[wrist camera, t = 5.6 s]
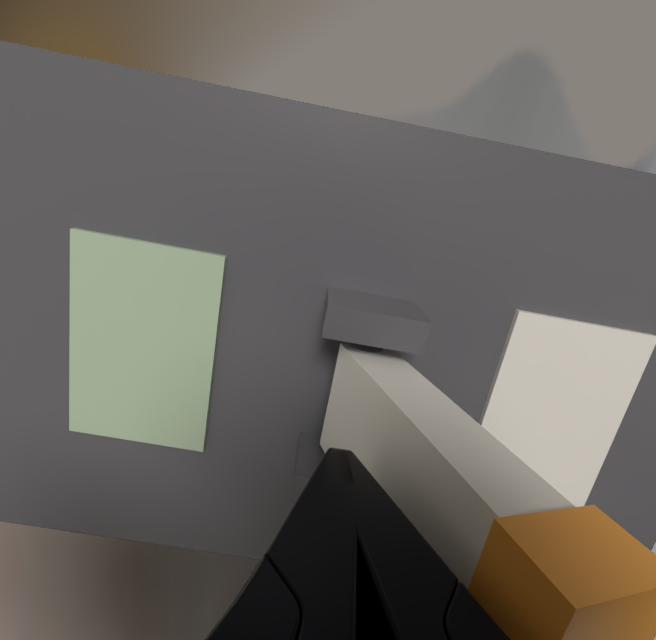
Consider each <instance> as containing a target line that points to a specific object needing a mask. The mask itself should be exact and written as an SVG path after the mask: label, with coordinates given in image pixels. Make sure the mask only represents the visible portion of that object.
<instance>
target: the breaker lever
mask: <svg viewBox="0 0 656 640" xmlns="http://www.w3.org/2000/svg"><path fill="white" fill-rule="evenodd" d="M320 445H321V447H322V449H323V451H324V453H326V451H327V450H328V449H329V448H339V449H346V450H351V451H352V452H353V453H354V454H355V455H356V456H357V458H358V459H359V460H360V461H361V462H362V464H363V465H364V466H365V467H366V468H367V470H368V471H369V472H370V473H371V474H372V476H373V477H374V478H375V479H376V480H377V482H378V483H379V484H380V485H381V486H382V488H383V489H384V490H385V491H386V492H387V494H388V495H389V496H390V497H391V498H392V500H393V501H394V502H395V503H396V504H397V506H398V507H399V508H400V509H401V510H402V512H403V513H404V514H405V515H406V517H407V518H408V519H409V520H410V521H411V523H412V524H413V525H414V526H415V527H416V529H417V530H418V531H419V532H420V533H421V535H422V536H423V537H424V538H425V539H426V541H427V542H428V543H429V544H430V545H431V547H432V548H433V549H434V550H435V551H436V553H437V554H438V555H439V556H440V557H441V559H442V560H443V561H444V562H445V563H446V565H447V566H448V567H449V568H450V569H451V571H452V572H453V573H454V574H455V575H456V577H457V578H458V583H459V582H461V583H462V584H463V585H464V586H465V587H466V588H467V590H468V591H469V592H470V593H471V594H472V596H473V597H474V598H475V599H476V600H477V602H478V603H479V604H480V605H481V606H482V607H483V608H484V610H485V611H486V612H487V613H488V614H489V615H490V616H491V618H492V619H493V620H494V621H495V622H496V623H497V625H498V626H499V627H500V628H501V629H502V630H503V631H504V633H505V634H506V635H507V636H508V637H509V638H510V639H511V640H654V638H655V636H656V555H655V554H654V553H653V552H651V551H650V550H649V549H648V548H647V547H645V546H644V545H643V544H642V543H640V542H639V541H638V540H637V539H636V538H634V537H633V536H632V535H631V534H629V533H628V532H627V531H626V530H625V529H623V528H622V527H621V526H620V525H618V524H617V523H616V522H615V521H613V520H612V519H611V518H610V517H609V516H607V515H606V514H605V513H604V512H602V511H601V510H600V509H599V508H598V507H596V506H595V505H588V506H581V507H575V506H574V505H573V504H572V503H571V502H570V501H568V500H567V499H566V498H565V497H564V496H563V495H561V494H560V493H559V492H558V491H557V490H556V489H554V488H553V487H552V486H551V485H550V484H549V483H547V482H546V481H545V480H544V479H543V478H542V477H540V476H539V475H538V474H537V473H536V472H535V471H533V470H532V469H531V468H530V467H529V466H528V465H526V464H525V463H524V462H523V461H522V460H521V459H519V458H518V457H517V456H516V455H515V454H514V453H512V452H511V451H510V450H509V449H508V448H507V447H505V446H504V445H503V444H502V443H501V442H500V441H498V440H497V439H496V438H495V437H494V436H493V435H492V434H490V433H489V432H488V431H487V430H486V429H485V428H483V427H482V426H481V425H480V424H479V423H478V422H476V421H475V420H474V419H473V418H472V417H471V416H469V415H468V414H467V413H466V412H465V411H464V410H462V409H461V408H460V407H459V406H458V405H457V404H455V403H454V402H453V401H452V400H451V399H450V398H448V397H447V396H446V395H445V394H444V393H443V392H441V391H440V390H439V389H438V388H437V387H436V386H434V385H433V384H432V383H431V382H430V381H429V380H427V379H426V378H425V377H424V376H423V375H422V374H420V373H419V372H418V371H417V370H416V369H415V368H413V367H412V366H411V365H410V364H409V363H408V362H406V361H405V360H404V359H403V358H402V357H401V356H399V355H398V354H397V353H396V352H395V351H394V350H389V349H383V348H378V347H372V346H366V345H361V344H355V343H350V342H346V344H345V343H340V347H339V352H338V357H337V362H336V367H335V372H334V376H333V381H332V386H331V391H330V396H329V401H328V405H327V410H326V415H325V420H324V425H323V430H322V434H321V439H320ZM458 583H457V584H458Z"/></svg>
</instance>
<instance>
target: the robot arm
mask: <svg viewBox="0 0 656 640" xmlns="http://www.w3.org/2000/svg"><path fill="white" fill-rule="evenodd" d="M457 583H458V578H457V577H456V575H455V574H454V573H453V572H452V571H451V569H450V568H449V567H448V566H447V565H446V563H445V562H444V561H443V560H442V559H441V557H440V556H439V555H438V554H437V553H436V551H435V550H434V549H433V548H432V547H431V545H430V544H429V543H428V542H427V541H426V539H425V538H424V537H423V536H422V535H421V533H420V532H419V531H418V530H417V529H416V527H415V526H414V525H413V524H412V523H411V521H410V520H409V519H408V518H407V517H406V515H405V514H404V513H403V512H402V510H401V509H400V508H399V507H398V506H397V504H396V503H395V502H394V501H393V500H392V498H391V497H390V496H389V495H388V494H387V492H386V491H385V490H384V489H383V488H382V486H381V485H380V484H379V483H378V482H377V480H376V479H375V478H374V477H373V476H372V474H371V473H370V472H369V471H368V470H367V468H366V467H365V466H364V465H363V464H362V462H361V461H360V460H359V459H358V458H357V456H356V455H355V454H354V453H353V452H352V451H351V450H346V449H339V448H329V449H328V450H327V451H326V453H325V455H324V456H323V458H322V460H321V461H320V463H319V465H318V466H317V468H316V470H315V471H314V473H313V475H312V476H311V478H310V480H309V481H308V483H307V485H306V486H305V488H304V489H303V491H302V493H301V494H300V496H299V498H298V499H297V501H296V503H295V504H294V506H293V508H292V509H291V511H290V513H289V514H288V516H287V518H286V519H285V521H284V522H283V524H282V526H281V527H280V529H279V531H278V532H277V534H276V536H275V537H274V539H273V541H272V542H271V544H270V546H269V547H268V549H267V551H266V552H265V554H264V556H263V558H262V559H261V560H260V562H259V563H258V565H257V567H256V568H255V570H254V571H253V573H252V575H251V576H250V578H249V579H248V581H247V582H246V584H245V585H244V587H243V588H242V590H241V591H240V593H239V594H238V596H237V597H236V599H235V601H234V602H233V604H232V605H231V606H230V607H229V609H228V610H227V611H226V613H225V614H224V615H223V617H222V618H221V619H220V621H219V622H218V623H217V624H216V626H215V627H214V628H213V630H212V631H211V632H210V634H209V635H208V636H207V637H206V639H205V640H511V639H510V638H509V637H508V636H507V635H506V634H505V633H504V631H503V630H502V629H501V628H500V627H499V626H498V625H497V623H496V622H495V621H494V620H493V619H492V618H491V616H490V615H489V614H488V613H487V612H486V611H485V610H484V608H483V607H482V606H481V605H480V604H479V603H478V602H477V600H476V599H475V598H474V597H473V596H472V594H471V593H470V592H469V591H468V590H467V588H466V587H465V586H464V585H463V584H462V583H461V582H459V583H458V584H457Z"/></svg>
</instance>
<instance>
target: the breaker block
mask: <svg viewBox="0 0 656 640" xmlns="http://www.w3.org/2000/svg"><path fill="white" fill-rule="evenodd" d="M346 342H350V343H355V344H361V345H366V346H372V347H378V348H383V349H389V350H394V351H395V352H396V353H397V354H398V355H399V356H401V357H402V358H403V359H404V360H405V361H406V362H408V363H409V364H410V365H411V366H412V367H413V368H415V369H416V370H417V371H418V372H419V373H420V374H422V375H423V376H424V377H425V378H426V379H427V380H429V381H430V382H431V383H432V384H433V385H434V386H436V387H437V388H438V389H439V390H440V391H441V392H443V393H444V394H445V395H446V396H447V397H448V398H450V399H451V400H452V401H453V402H454V403H455V404H457V405H458V406H459V407H460V408H461V409H462V410H464V411H465V412H466V413H467V414H468V415H469V416H471V417H472V418H473V419H474V420H475V421H476V422H478V423H479V424H480V425H481V426H482V427H483V428H485V429H486V430H487V431H488V432H489V433H490V434H492V435H493V436H494V437H495V438H496V439H497V440H498V441H500V442H501V443H502V444H503V445H504V446H505V447H507V448H508V449H509V450H510V451H511V452H512V453H514V454H515V455H516V456H517V457H518V458H519V459H521V460H522V461H523V462H524V463H525V464H526V465H528V466H529V467H530V468H531V469H532V470H533V471H535V472H536V473H537V474H538V475H539V476H540V477H542V478H543V479H544V480H545V481H546V482H547V483H549V484H550V485H551V486H552V487H553V488H554V489H556V490H557V491H558V492H559V493H560V494H561V495H563V496H564V497H565V498H566V499H567V500H568V501H570V502H571V503H572V504H573V505H574V506H575V507H581V506H588V505H595V506H596V507H598V508H599V509H600V510H601V511H602V512H604V513H605V514H606V515H607V516H609V517H610V518H611V519H612V520H613V521H615V522H616V523H617V524H618V525H620V526H621V527H622V528H623V529H625V530H626V531H627V532H628V533H629V534H631V535H632V536H633V537H634V538H636V539H637V540H638V541H639V542H640V543H642V544H643V545H644V546H645V547H647V548H648V549H649V550H650V551H651V550H652V548H653V546H654V544H655V542H656V174H652V173H647V172H642V171H637V170H632V169H627V168H622V167H617V166H612V165H608V164H603V163H598V162H593V161H588V160H583V159H578V158H573V157H568V156H564V155H559V154H554V153H549V152H544V151H539V150H534V149H529V148H524V147H520V146H515V145H510V144H505V143H500V142H495V141H490V140H485V139H480V138H475V137H471V136H466V135H461V134H456V133H451V132H446V131H441V130H436V129H431V128H427V127H422V126H417V125H412V124H407V123H402V122H397V121H392V120H387V119H383V118H378V117H373V116H368V115H363V114H358V113H353V112H348V111H343V110H339V109H334V108H329V107H324V106H318V105H314V104H309V103H304V102H299V101H295V100H290V99H285V98H280V97H275V96H270V95H265V94H260V93H255V92H250V91H246V90H240V89H236V88H231V87H226V86H221V85H216V84H211V83H206V82H201V81H197V80H191V79H187V78H182V77H177V76H172V75H167V74H162V73H158V72H153V71H148V70H142V69H138V68H133V67H128V66H123V65H118V64H114V63H109V62H103V61H99V60H94V59H89V58H84V57H79V56H74V55H70V54H65V53H59V52H54V51H50V50H45V49H40V48H35V47H30V46H25V45H21V44H15V43H10V42H6V41H1V40H0V521H3V522H10V523H16V524H23V525H30V526H37V527H43V528H50V529H57V530H63V531H70V532H77V533H83V534H90V535H97V536H103V537H110V538H117V539H123V540H130V541H137V542H144V543H150V544H157V545H164V546H170V547H177V548H184V549H190V550H197V551H204V552H210V553H217V554H224V555H231V556H237V557H244V558H251V559H257V560H261V559H262V558H263V556H264V554H265V552H266V551H267V549H268V547H269V546H270V544H271V542H272V541H273V539H274V537H275V536H276V534H277V532H278V531H279V529H280V527H281V526H282V524H283V522H284V521H285V519H286V518H287V516H288V514H289V513H290V511H291V509H292V508H293V506H294V504H295V503H296V501H297V499H298V498H299V496H300V494H301V493H302V491H303V489H304V488H305V486H306V485H307V483H308V481H309V480H310V478H311V476H312V475H313V473H314V471H315V470H316V468H317V466H318V465H319V463H320V461H321V460H322V458H323V456H324V455H325V453H324V451H323V449H322V447H321V445H320V439H321V434H322V430H323V425H324V420H325V415H326V410H327V405H328V401H329V396H330V391H331V386H332V381H333V376H334V372H335V367H336V362H337V357H338V352H339V347H340V343H345V344H346Z"/></svg>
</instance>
